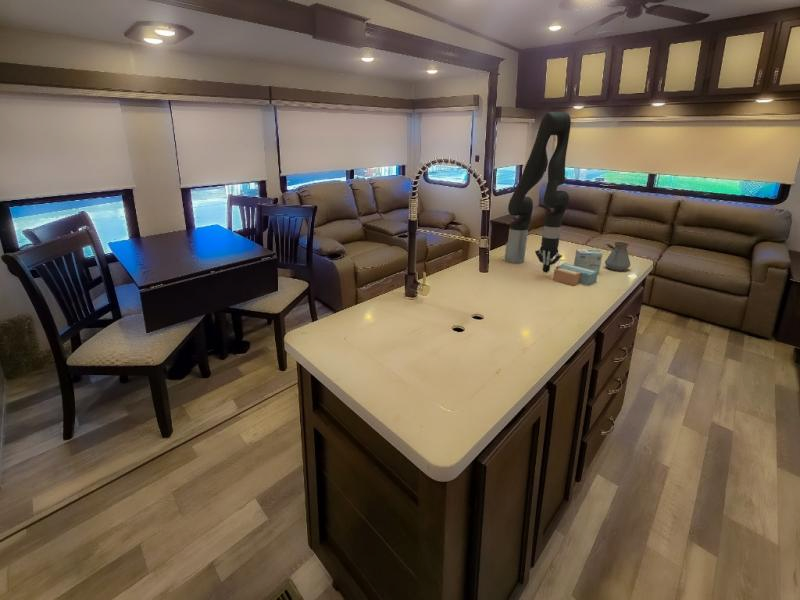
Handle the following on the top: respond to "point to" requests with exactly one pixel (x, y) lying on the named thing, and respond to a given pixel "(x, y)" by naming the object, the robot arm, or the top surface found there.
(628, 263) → the coffee pot
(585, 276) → the blue labelled box
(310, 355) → the top surface
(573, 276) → the orange labelled box
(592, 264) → the light bulb box
